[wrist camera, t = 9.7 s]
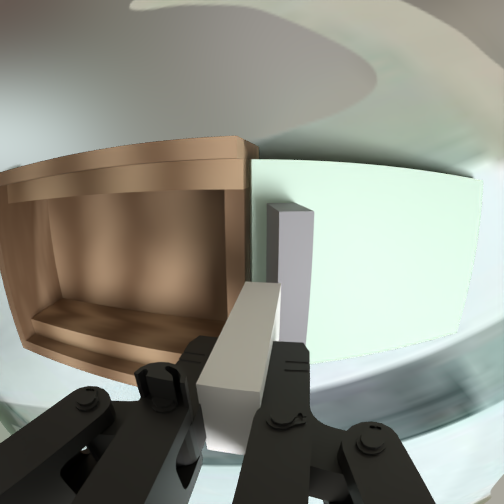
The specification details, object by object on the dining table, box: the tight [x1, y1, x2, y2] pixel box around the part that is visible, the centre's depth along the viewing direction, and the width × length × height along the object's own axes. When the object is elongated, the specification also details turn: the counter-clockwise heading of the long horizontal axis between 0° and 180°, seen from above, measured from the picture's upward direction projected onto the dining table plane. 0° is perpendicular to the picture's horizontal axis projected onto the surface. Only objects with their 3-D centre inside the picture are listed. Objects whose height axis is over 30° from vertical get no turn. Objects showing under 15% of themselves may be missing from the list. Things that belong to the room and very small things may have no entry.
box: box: [0, 136, 259, 387], centre depth 19 cm, size 20×15×7 cm
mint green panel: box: [250, 159, 483, 364], centre depth 16 cm, size 17×12×4 cm
